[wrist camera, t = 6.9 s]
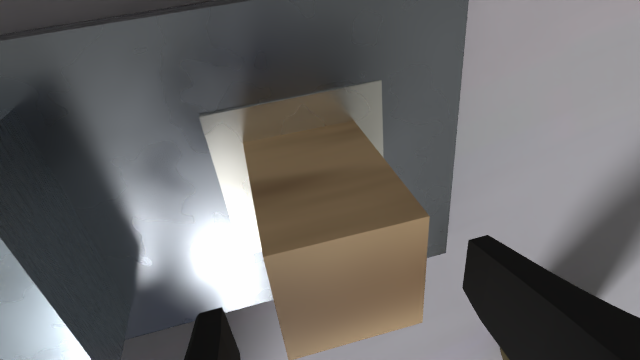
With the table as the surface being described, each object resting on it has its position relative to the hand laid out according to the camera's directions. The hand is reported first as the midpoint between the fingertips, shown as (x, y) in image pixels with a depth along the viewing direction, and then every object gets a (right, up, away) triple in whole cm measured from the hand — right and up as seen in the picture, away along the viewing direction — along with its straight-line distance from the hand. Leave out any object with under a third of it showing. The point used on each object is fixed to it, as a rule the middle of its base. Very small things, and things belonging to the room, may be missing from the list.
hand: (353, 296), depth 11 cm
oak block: (-2, +3, +5) cm, 7 cm away
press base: (-8, +3, +6) cm, 10 cm away
